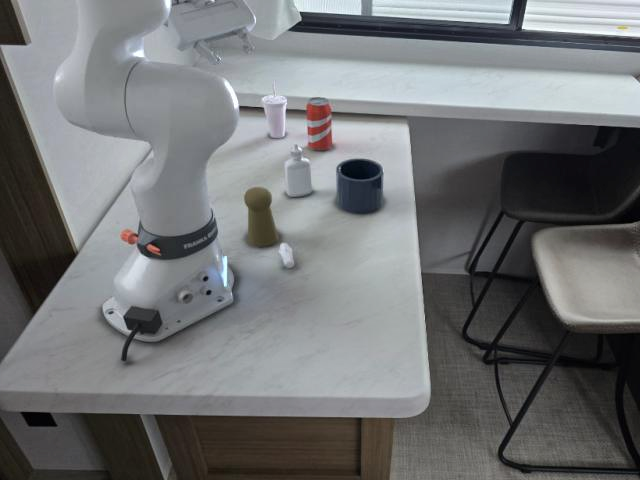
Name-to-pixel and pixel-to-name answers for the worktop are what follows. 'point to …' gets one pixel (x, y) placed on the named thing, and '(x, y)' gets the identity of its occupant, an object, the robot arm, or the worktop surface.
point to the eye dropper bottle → (297, 174)
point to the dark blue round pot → (359, 185)
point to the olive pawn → (260, 217)
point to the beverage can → (319, 123)
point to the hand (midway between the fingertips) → (234, 57)
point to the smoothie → (275, 113)
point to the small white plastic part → (286, 255)
